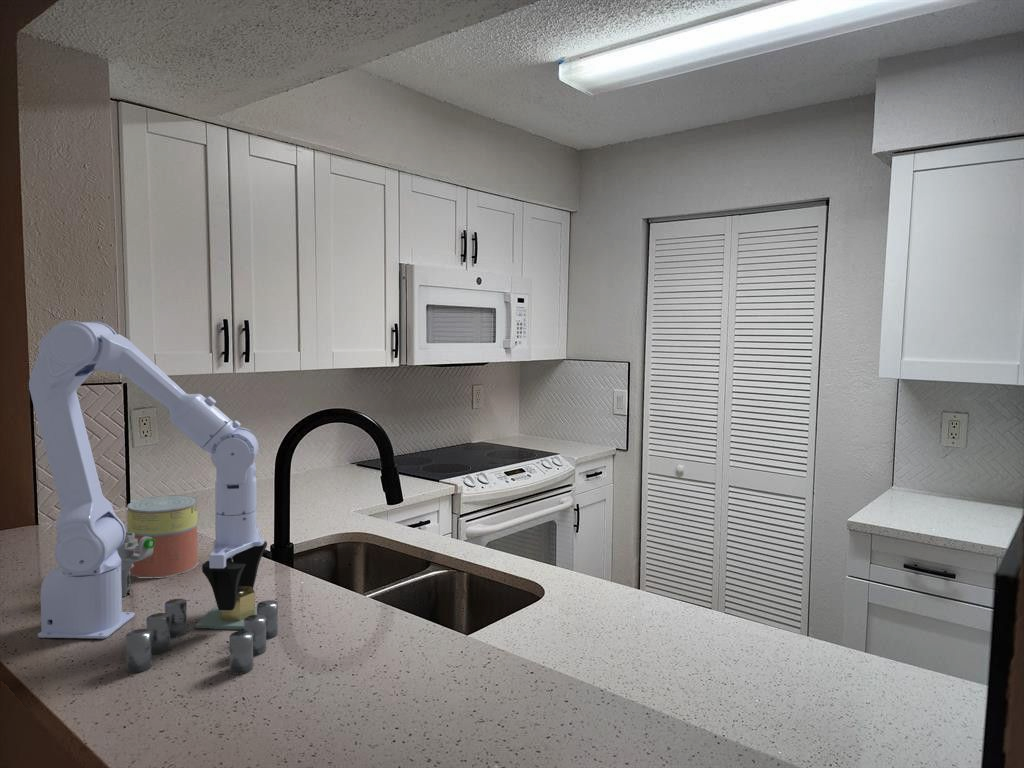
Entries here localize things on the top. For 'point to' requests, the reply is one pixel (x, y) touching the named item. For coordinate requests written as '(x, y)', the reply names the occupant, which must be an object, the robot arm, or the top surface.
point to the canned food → (165, 534)
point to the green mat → (219, 621)
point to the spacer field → (176, 624)
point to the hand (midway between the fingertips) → (236, 599)
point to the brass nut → (241, 605)
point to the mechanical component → (133, 556)
